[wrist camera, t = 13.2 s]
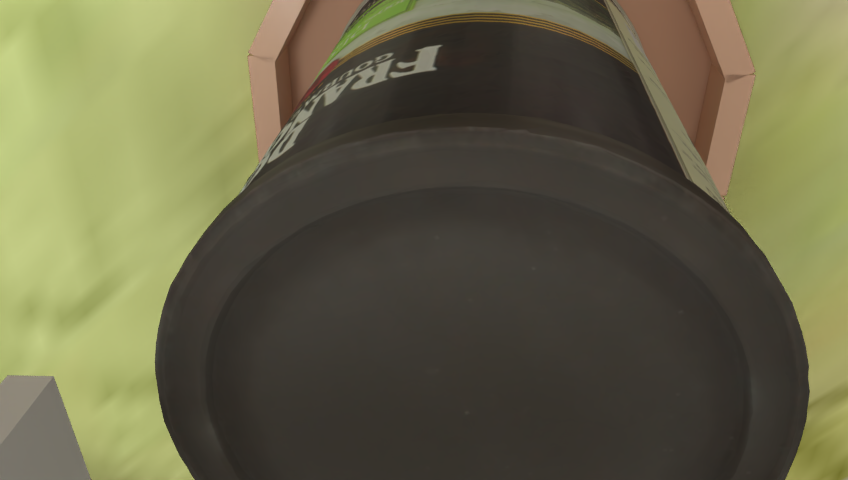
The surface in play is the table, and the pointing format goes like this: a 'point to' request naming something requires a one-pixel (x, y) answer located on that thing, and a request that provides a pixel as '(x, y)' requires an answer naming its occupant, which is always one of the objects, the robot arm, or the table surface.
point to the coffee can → (482, 273)
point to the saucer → (643, 4)
